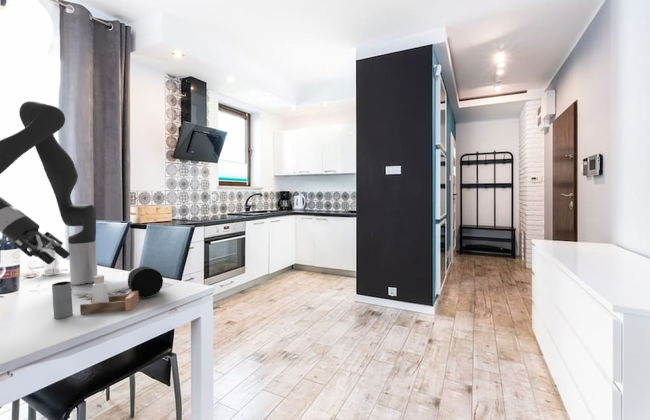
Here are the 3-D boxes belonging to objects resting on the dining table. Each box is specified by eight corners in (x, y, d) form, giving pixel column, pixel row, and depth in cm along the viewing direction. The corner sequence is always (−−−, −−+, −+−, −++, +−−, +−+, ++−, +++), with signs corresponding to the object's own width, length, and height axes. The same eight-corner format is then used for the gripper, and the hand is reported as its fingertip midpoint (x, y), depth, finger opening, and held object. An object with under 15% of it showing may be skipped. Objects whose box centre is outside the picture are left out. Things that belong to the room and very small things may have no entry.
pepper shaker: (94, 313, 101) (93, 278, 100) (87, 309, 104) (85, 276, 103) (113, 307, 105) (112, 275, 105) (106, 304, 108) (104, 272, 108)
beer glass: (38, 276, 147) (36, 243, 146) (50, 272, 154) (48, 241, 153) (54, 275, 147) (52, 243, 146) (65, 271, 154) (63, 241, 153)
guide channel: (80, 314, 100) (79, 301, 100) (92, 305, 108) (91, 294, 107) (130, 310, 103) (130, 298, 103) (138, 302, 111) (138, 290, 111)
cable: (141, 288, 142) (152, 266, 145) (155, 300, 115) (168, 273, 118) (116, 281, 136) (128, 259, 139) (125, 293, 109) (139, 264, 112)
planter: (54, 315, 99) (52, 283, 99) (72, 312, 102) (71, 280, 101) (53, 320, 96) (51, 286, 95) (72, 316, 98) (70, 283, 98)
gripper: (7, 217, 91) (56, 254, 95) (39, 213, 105) (80, 246, 109) (-14, 236, 90) (36, 273, 94) (21, 230, 104) (63, 263, 108)
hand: (60, 259), depth 101 cm, fingers open, 8 cm apart
